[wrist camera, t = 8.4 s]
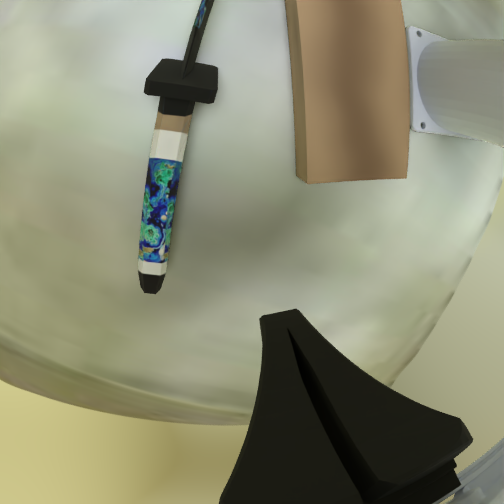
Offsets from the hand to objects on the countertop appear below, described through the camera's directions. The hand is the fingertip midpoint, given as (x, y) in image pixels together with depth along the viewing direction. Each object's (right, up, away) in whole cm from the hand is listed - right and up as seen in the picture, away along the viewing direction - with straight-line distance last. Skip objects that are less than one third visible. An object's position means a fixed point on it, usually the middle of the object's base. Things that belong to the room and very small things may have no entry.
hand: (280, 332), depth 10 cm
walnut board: (+4, +17, +3) cm, 17 cm away
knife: (-3, +15, +1) cm, 16 cm away
